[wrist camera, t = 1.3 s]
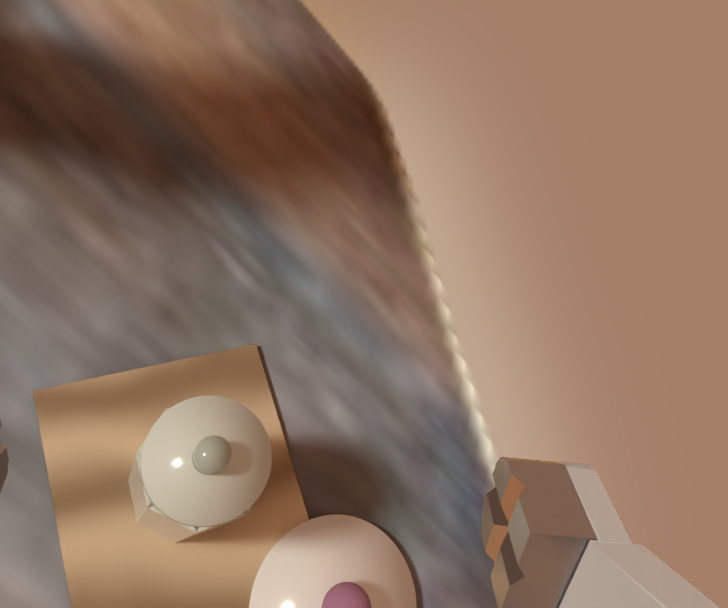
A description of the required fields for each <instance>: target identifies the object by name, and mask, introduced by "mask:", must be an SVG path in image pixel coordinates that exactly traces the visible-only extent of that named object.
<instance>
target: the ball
mask: <svg viewBox="0 0 728 608" xmlns="http://www.w3.org/2000/svg"><path fill="white" fill-rule="evenodd" d="M322 608H371V602H370V599H369V596H368V594H367V593H366V591H365V590H364V589H363V588H362V587H361V586H359V585H358V584H355V583H352V582H341V583H338V584H336V585H334V586H333V587H332V588H331V589H330V590H329V591H328V592H327V593H326V595H325V597H324V599H323V603H322Z"/></svg>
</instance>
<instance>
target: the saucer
mask: <svg viewBox="0 0 728 608" xmlns="http://www.w3.org/2000/svg"><path fill="white" fill-rule="evenodd" d="M341 582H352V583H355V584H358V585H359V586H361V587H362V588H363V589H364V590H365V591H366V593H367V594H368V596H369V599H370V602H371V608H417V604H416V594H415V588H414V583H413V580H412V576H411V573H410V570H409V568H408V565H407V563H406V561H405V559H404V557H403V556H402V554H401V552H400V551H399V549H398V548H397V546H396V545H395V544H394V542H393V541H392V540H391V539H390V538H389V537H388V536H387V535H386V534H385V533H384V532H382V531H381V530H380V529H379V528H377V527H376V526H374V525H373V524H371V523H369V522H367V521H365V520H363V519H360V518H357V517H353V516H348V515H325V516H320V517H316V518H313V519H310V520H308V521H305V522H303V523H301V524H299V525H297V526H296V527H294V528H293V529H291V530H290V531H289V532H287V533H286V534H285V535H284V536H283V537H282V538H280V540H279V541H278V542H277V543H276V544H275V545H274V546H273V547H272V549H271V550H270V552H269V553H268V554H267V556H266V557H265V559H264V561H263V563H262V565H261V566H260V568H259V571H258V573H257V576H256V578H255V581H254V584H253V588H252V591H251V596H250V603H249V608H322V603H323V599H324V597H325V595H326V593H327V592H328V591H329V590H330V589H331V588H332V587H333V586H334V585H336V584H338V583H341Z"/></svg>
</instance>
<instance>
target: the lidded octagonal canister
mask: <svg viewBox="0 0 728 608" xmlns="http://www.w3.org/2000/svg"><path fill="white" fill-rule="evenodd" d="M271 464H272V452H271V445H270V440H269V437H268V435H267V432H266V430H265V428H264V426H263V424H262V423H261V422H260V420H259V419H258V418H257V416H256V415H255V414H254V413H253V412H252V411H250V410H249V409H248V408H247V407H245V406H244V405H242V404H241V403H239V402H237V401H234V400H232V399H229V398H226V397H221V396H211V395H209V396H198V397H193V398H190V399H187V400H184V401H182V402H180V403H178V404H176V405H174V406H173V407H171V408H167V409H165V411H164V412H163V414H162V415H161V417H160V418H159V419H158V420H157V421H156V423H155V424H154V425H153V427H152V428H151V430H150V432H149V434H148V436H147V438H146V439H145V441H144V442H143V444H142V445H141V447H140V448H139V450H138V452H137V453H136V455H135V458H134V462H133V465H132V469H131V473H130V476H129V480H128V483H129V487H130V492H131V497H132V501H133V506H134V510H135V515H136V520H137V523H138V524H140V525H142V526H143V527H145V528H147V529H149V530H151V531H153V532H155V533H157V534H159V535H161V536H163V537H165V538H167V539H169V540H171V541H172V542H174V543H176V542H179V541H181V540H184V539H187V538H190V537H192V536H195V535H198V534H201V533H204V532H206V531H209V530H212V529H215V528H217V527H220V526H222V525H224V524H227V523H229V522H231V521H234V520H236V519H238V518H241V517H243V516H245V515H248V513H249V511H250V509H251V507H252V505H253V504H254V503H255V501H256V500H257V499H258V497H259V496H260V495H261V493H262V491H263V490H264V488H265V486H266V483H267V481H268V478H269V475H270V471H271V468H272V467H271Z"/></svg>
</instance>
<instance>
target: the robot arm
mask: <svg viewBox="0 0 728 608" xmlns="http://www.w3.org/2000/svg"><path fill="white" fill-rule="evenodd" d="M1 426H2V425H1V421H0V427H1ZM7 471H8V455H7V449H6V447H5V446H4V445H3V444H2V443H1V442H0V492H1V489H2V487H3V484H4V481H5V479H6V476H7ZM493 477H494V481H495V485H496V487H495V488H494V489H493V490H491V491H490V492H488V493H487V494H486V497H485V501H484V505H483V508H482V520H481V530H482V540H483V545H484V549H485V552H486V553H487V554H488V555H489V557H490V558H491V559H492V560H493V561H494V562H495V564H494V567H493V570H492V573H491V581H492V585H493V589H494V594H495V598H496V602H497V607H498V608H719V607H718V606H717V605H715V604H714V603H713V602H712V601H710V600H709V599H708V598H707V597H706V596H704V595H703V594H702V593H701V592H699V591H698V590H697V589H696V588H694V587H693V586H692V585H691V584H690V583H688V582H687V581H686V580H685V579H683V578H682V577H681V576H680V575H679V574H677V573H676V572H675V571H674V570H672V569H671V568H670V567H669V566H667V565H666V564H665V563H664V562H663V561H661V560H660V559H659V558H658V557H656V556H655V555H654V554H653V553H651V552H650V551H649V550H648V549H647V548H645V547H644V546H643V545H635V544H633V543H632V541H631V539H630V537H629V535H628V533H627V531H626V529H625V527H624V525H623V523H622V521H621V519H620V517H619V515H618V513H617V511H616V510H615V507H614V505H613V504H612V502H611V500H610V498H609V496H608V494H607V492H606V490H605V488H604V486H603V484H602V482H601V480H600V478H599V476H598V474H597V472H596V470H595V469H594V468H593V467H592V466H591V465H589V464H579V463H567V462H559V463H557V462H550V461H539V460H528V459H517V458H507V457H501V458H500V459H499V460H498V462H497V463H496V466H495V469H494V472H493Z"/></svg>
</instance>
